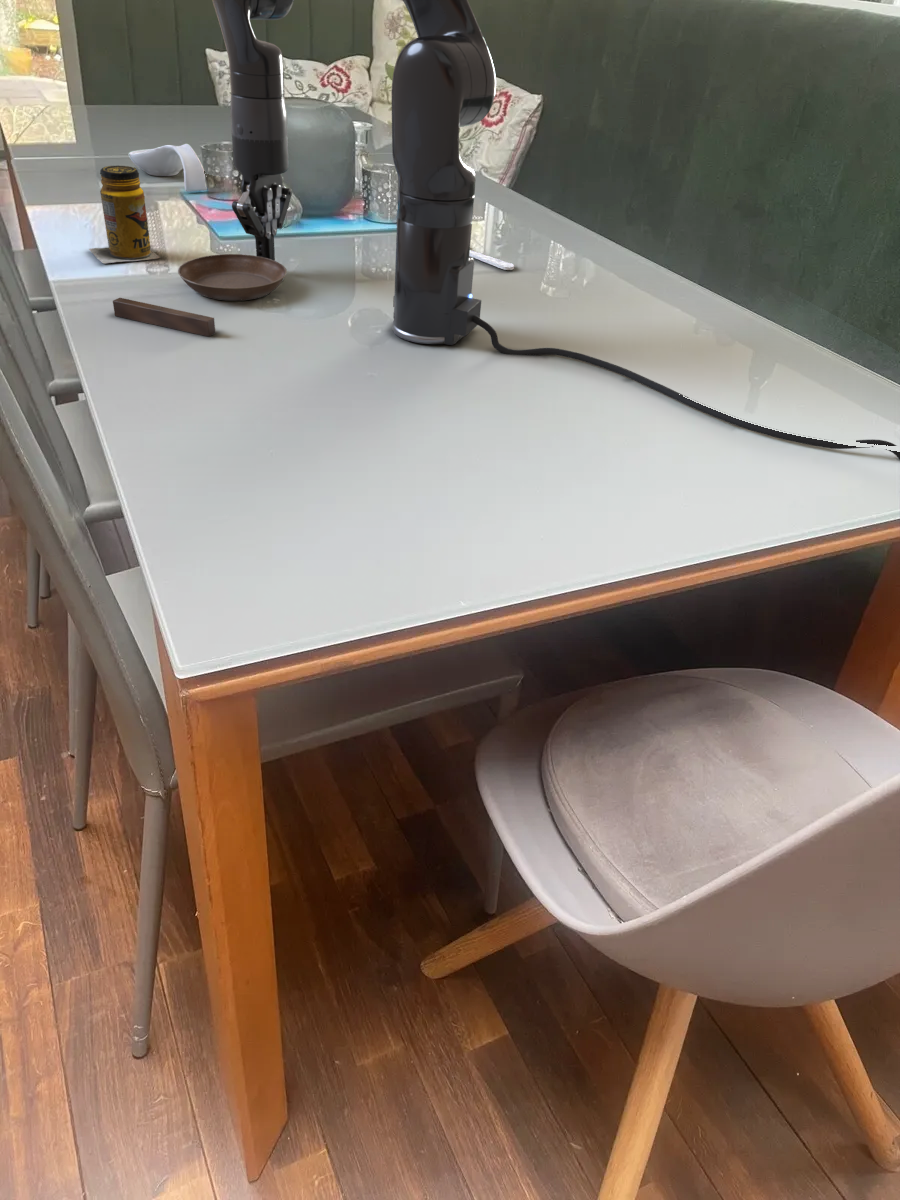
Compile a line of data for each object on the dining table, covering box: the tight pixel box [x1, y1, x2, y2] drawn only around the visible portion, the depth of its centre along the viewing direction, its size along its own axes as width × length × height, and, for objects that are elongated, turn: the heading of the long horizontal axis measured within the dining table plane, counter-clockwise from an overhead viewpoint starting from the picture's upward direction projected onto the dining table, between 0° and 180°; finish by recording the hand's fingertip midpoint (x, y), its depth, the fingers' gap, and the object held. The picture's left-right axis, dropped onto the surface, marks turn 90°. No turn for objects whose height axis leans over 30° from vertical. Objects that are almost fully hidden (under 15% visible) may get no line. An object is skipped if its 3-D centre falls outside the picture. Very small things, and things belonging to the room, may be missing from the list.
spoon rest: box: [128, 143, 208, 193], centre depth 173 cm, size 24×12×7 cm, turn 37°
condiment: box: [88, 164, 161, 264], centre depth 131 cm, size 7×8×12 cm
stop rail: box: [112, 297, 216, 337], centre depth 113 cm, size 14×2×2 cm, turn 69°
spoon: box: [469, 249, 515, 271], centre depth 147 cm, size 5×18×1 cm, turn 44°
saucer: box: [177, 253, 288, 302], centre depth 125 cm, size 15×15×3 cm
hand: (266, 262), depth 132 cm, fingers closed
